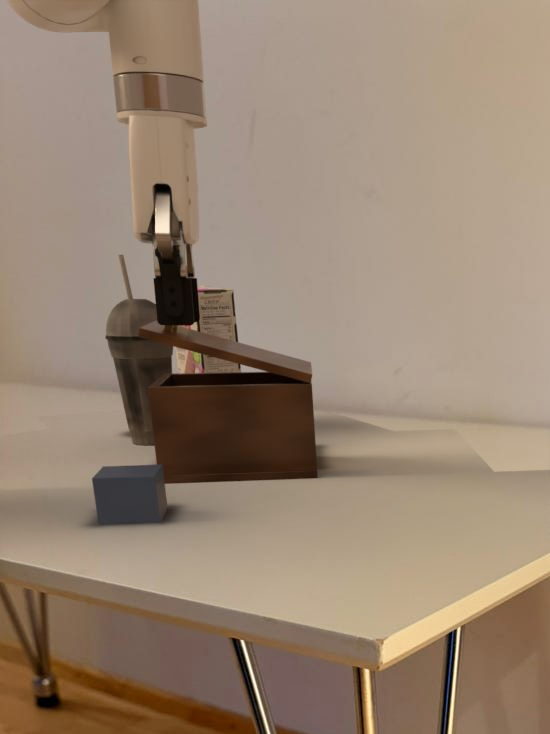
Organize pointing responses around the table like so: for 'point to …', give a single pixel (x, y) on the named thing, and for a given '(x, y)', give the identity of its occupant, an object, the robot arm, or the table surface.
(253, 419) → the chest
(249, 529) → the table surface
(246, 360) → the lid
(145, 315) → the beverage cup
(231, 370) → the candy bar box
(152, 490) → the block
